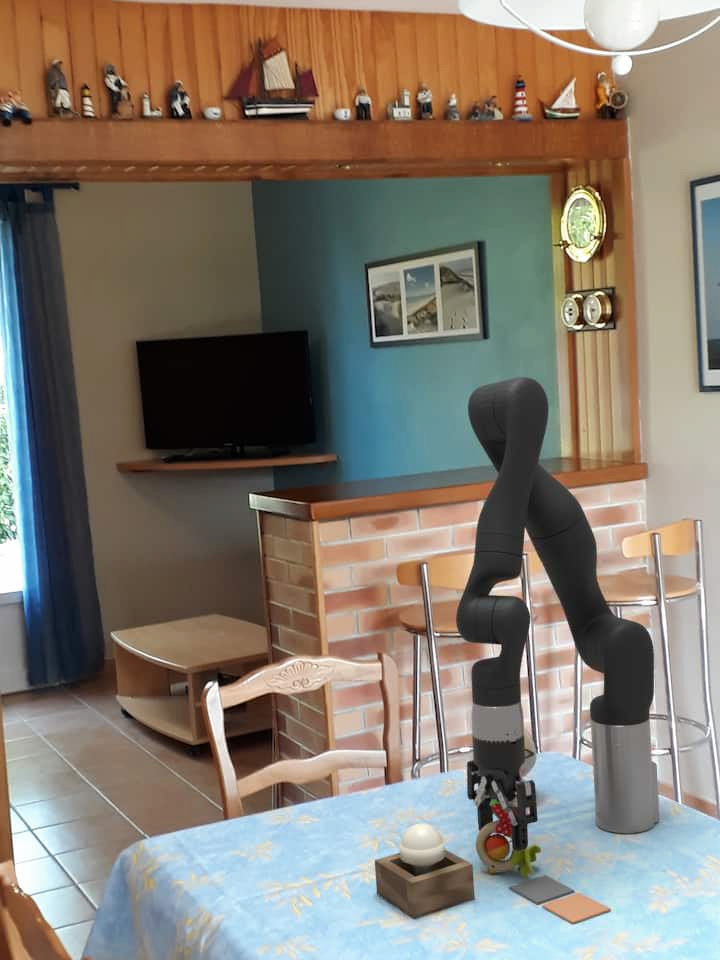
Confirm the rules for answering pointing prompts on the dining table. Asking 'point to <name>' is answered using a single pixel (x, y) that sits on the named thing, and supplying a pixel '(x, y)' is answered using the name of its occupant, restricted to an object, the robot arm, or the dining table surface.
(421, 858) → the dome button
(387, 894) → the button frame
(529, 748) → the kitten
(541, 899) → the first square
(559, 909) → the tile
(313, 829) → the dining table surface
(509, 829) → the bird rattle
